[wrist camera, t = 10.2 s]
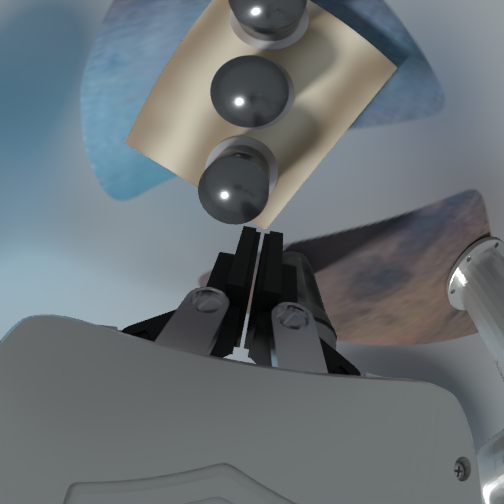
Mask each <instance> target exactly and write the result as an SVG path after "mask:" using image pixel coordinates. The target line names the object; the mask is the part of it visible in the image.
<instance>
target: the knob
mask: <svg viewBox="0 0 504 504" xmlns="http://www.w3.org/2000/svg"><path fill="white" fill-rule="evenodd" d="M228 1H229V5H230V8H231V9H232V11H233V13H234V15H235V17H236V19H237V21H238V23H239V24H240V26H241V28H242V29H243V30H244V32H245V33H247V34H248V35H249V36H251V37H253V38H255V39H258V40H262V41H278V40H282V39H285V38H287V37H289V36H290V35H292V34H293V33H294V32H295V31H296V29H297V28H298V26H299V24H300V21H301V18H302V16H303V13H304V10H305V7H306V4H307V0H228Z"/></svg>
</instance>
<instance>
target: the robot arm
mask: <svg viewBox="0 0 504 504" xmlns="http://www.w3.org/2000/svg"><path fill="white" fill-rule="evenodd" d="M260 234H261V233H260V232H256V228H251V227H246V226H244V227H243V230H242V234H241V237H240V240H239V243H238V247H237V250H236V253H235V255H234V254H229V253H223V252H220V253H219V255H218V258H217V260H216V263H215V265H214V268H213V270H212V273H211V275H210V278H209V281H208V283H207V286H206V287H200V288H196V289H194V290H192V291H190V293H188V294H187V296H186V297H185V299H184V300H183V301H182V303H181V304H180V306H179V307H178V309H176V310H173V311H170V312H168V313H165V314H162V315H159V316H156V317H153V318H151V319H148V320H145V321H143V322H139V323H136V324H133V325H131V326H128V327H126V328H124V329H123V330H122V331H121V330H118V328H117V327H113V326H104V325H96V324H92V323H89V322H86V321H83V320H79V319H75V318H70V317H66V316H59V315H34V316H29V317H26V318H24V319H22V320H21V321H19V322H18V323H17V324H16V325H14V327H12V328H11V329H10V330H9V331H8V332H7V334H6V335H5V336H4V337H3V338H2V339H1V341H0V504H504V429H503V430H501V431H500V432H499V433H497V434H496V435H494V436H493V437H492V438H490V439H489V440H488V441H487V442H485V443H484V444H483V445H482V447H481V448H480V449H479V451H478V453H477V454H476V452H475V448H474V444H473V439H472V436H471V432H470V428H469V425H468V422H467V419H466V416H465V414H464V411H463V409H462V407H461V405H460V403H459V401H458V400H457V398H456V397H455V396H454V395H453V394H452V393H450V392H449V391H447V390H445V389H443V388H442V387H439V386H437V385H434V384H431V383H427V382H423V381H418V380H411V379H400V378H385V377H381V376H378V375H374V374H370V373H365V374H364V375H362V374H360V372H359V371H358V369H357V368H355V366H354V365H352V364H351V363H350V362H349V361H348V360H346V359H345V358H344V357H343V356H342V355H340V354H339V353H338V352H337V351H336V350H335V349H333V348H332V347H331V346H330V345H329V344H327V343H326V342H325V341H324V340H323V339H322V338H320V337H319V336H318V332H317V328H316V325H315V321H314V318H313V316H312V314H311V312H310V311H309V310H308V309H307V308H305V307H304V306H302V305H300V304H298V295H297V269H296V266H293V265H288V264H282V256H283V233H279V232H273V231H270V234H265V235H264V240H263V245H262V250H261V255H260V260H259V265H258V270H257V275H256V280H255V285H254V291H253V297H252V303H251V309H250V315H249V321H248V327H247V333H246V339H245V345H244V348H245V349H249V354H248V357H250V358H251V359H252V360H253V361H254V362H255V363H256V364H253V363H247V362H242V361H236V360H231V359H226V358H223V357H225V356H227V355H229V354H233V349H234V347H240V342H241V337H242V331H243V327H244V321H245V316H246V311H247V306H248V301H249V296H250V290H251V285H252V280H253V274H254V268H255V263H256V257H257V251H258V245H259V240H260ZM446 294H447V298H448V300H449V302H450V303H451V305H452V306H453V307H455V308H456V309H460V310H467V312H468V313H469V315H470V317H471V319H472V320H473V322H474V324H475V325H476V327H477V329H478V331H479V333H480V334H481V336H482V338H483V340H484V342H485V344H486V346H487V347H488V349H489V351H490V353H491V355H492V357H493V359H494V362H495V363H496V366H497V368H498V370H499V372H500V374H501V376H502V379H503V381H504V242H502V241H501V240H500V239H498V238H497V237H486V238H483V239H480V240H479V241H477V242H475V243H474V244H472V245H471V246H470V247H469V248H467V250H466V251H465V252H464V253H463V254H462V255H461V256H460V257H459V259H458V260H457V261H456V263H455V265H454V266H453V268H452V270H451V272H450V275H449V278H448V281H447V286H446Z"/></svg>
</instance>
